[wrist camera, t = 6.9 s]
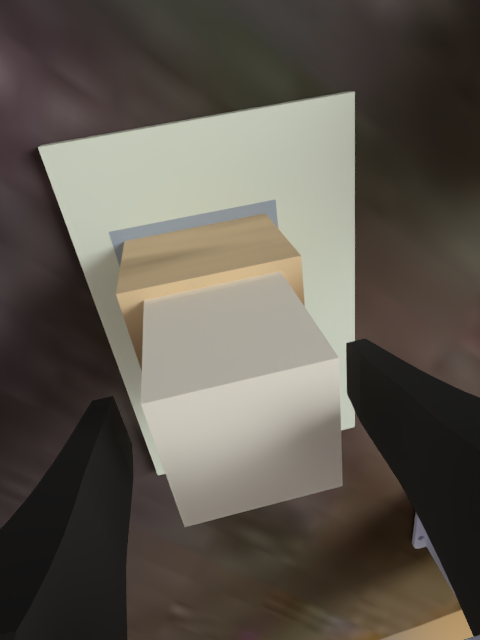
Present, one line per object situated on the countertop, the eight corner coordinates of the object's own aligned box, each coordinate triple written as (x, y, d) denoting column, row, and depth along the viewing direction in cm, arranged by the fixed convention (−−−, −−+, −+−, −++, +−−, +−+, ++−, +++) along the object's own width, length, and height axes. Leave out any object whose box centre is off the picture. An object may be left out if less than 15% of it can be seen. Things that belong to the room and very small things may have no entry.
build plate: (350, 419, 26) (354, 427, 25) (157, 467, 25) (157, 475, 24) (348, 91, 17) (354, 91, 16) (41, 145, 16) (37, 147, 15)
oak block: (278, 331, 21) (311, 395, 17) (159, 357, 20) (161, 431, 16) (265, 213, 18) (301, 255, 14) (124, 241, 17) (115, 294, 13)
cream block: (291, 377, 16) (342, 485, 12) (175, 405, 16) (184, 527, 11) (280, 271, 14) (338, 357, 10) (143, 300, 13) (141, 404, 9)
